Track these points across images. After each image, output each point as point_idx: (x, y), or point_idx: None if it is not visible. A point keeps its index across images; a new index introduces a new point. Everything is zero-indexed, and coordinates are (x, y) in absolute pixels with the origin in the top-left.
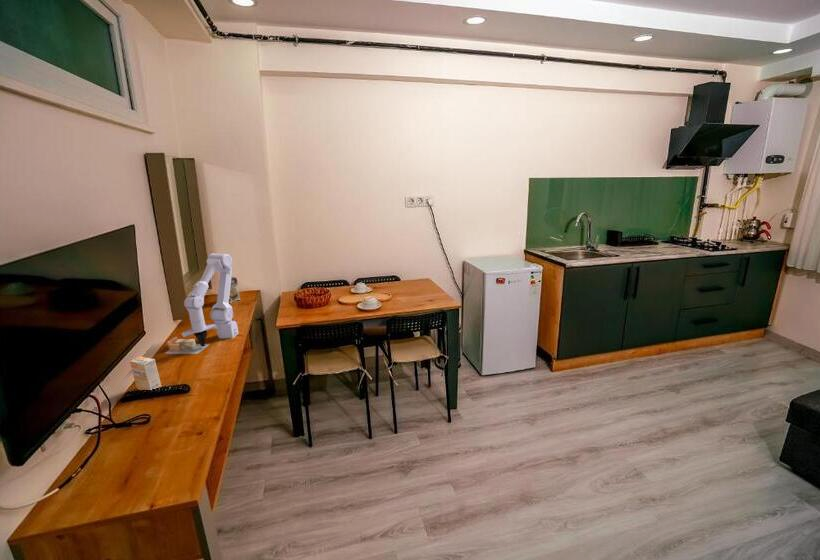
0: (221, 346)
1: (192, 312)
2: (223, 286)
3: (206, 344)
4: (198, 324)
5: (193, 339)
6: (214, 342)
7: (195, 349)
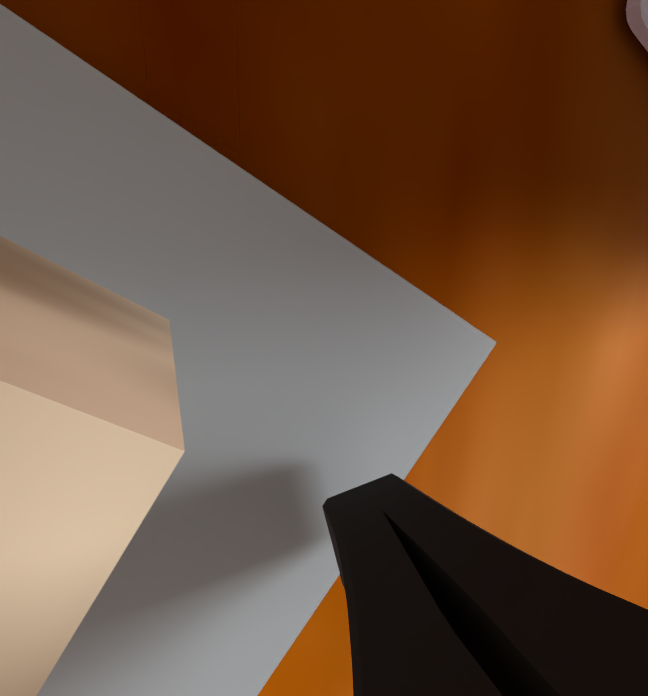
0: (613, 463)
1: None
2: None
3: (425, 320)
4: None
5: (118, 497)
6: (571, 182)
7: (166, 523)
